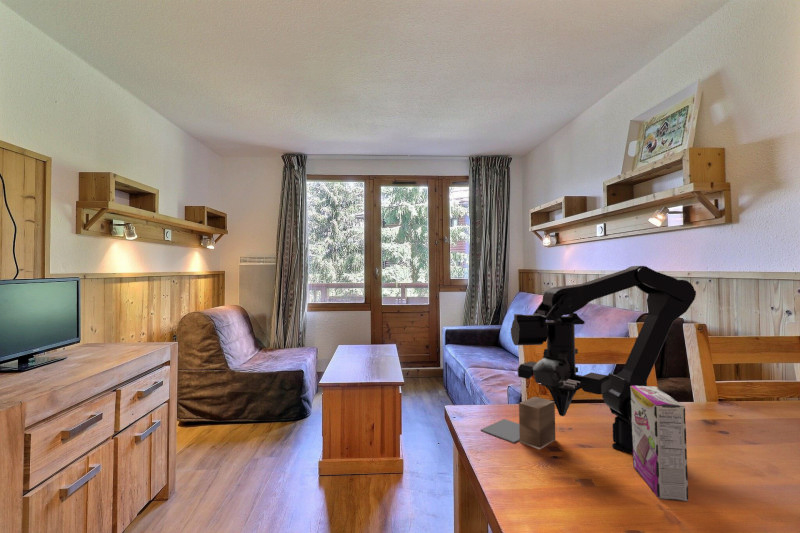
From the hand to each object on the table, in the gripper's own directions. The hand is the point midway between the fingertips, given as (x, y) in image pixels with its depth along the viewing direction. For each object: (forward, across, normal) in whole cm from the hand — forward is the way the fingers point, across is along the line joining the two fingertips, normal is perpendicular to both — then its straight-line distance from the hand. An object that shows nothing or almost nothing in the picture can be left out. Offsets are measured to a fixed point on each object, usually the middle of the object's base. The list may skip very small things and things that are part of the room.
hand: (562, 415), depth 83 cm
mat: (+8, -14, 0) cm, 16 cm away
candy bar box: (+8, +18, 0) cm, 20 cm away
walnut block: (+8, -6, 0) cm, 10 cm away
